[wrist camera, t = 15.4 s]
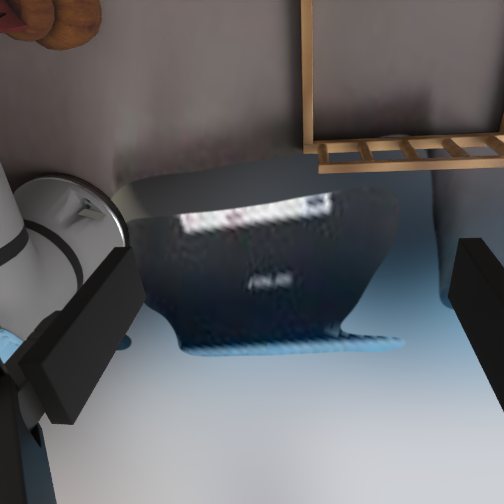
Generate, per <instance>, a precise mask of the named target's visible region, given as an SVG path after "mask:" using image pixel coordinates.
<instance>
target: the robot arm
mask: <svg viewBox="0 0 504 504" xmlns="http://www.w3.org/2000/svg"><path fill="white" fill-rule="evenodd" d="M448 298H449V300H450V302H451V304H452V307H453V309H454V311H455V313H456V315H457V317H458V319H459V321H460V323H461V325H462V327H463V329H464V331H465V333H466V335H467V337H468V339H469V341H470V344H471V345H472V348H473V350H474V352H475V354H476V356H477V358H478V360H479V362H480V364H481V366H482V368H483V370H484V372H485V374H486V376H487V378H488V380H489V383H490V385H491V387H492V389H493V391H494V393H495V395H496V397H497V399H498V401H499V403H500V405H501V407H502V409H503V411H504V267H503V266H502V265H501V263H500V262H499V261H498V259H497V258H496V257H495V255H494V254H493V253H492V251H491V250H490V249H489V248H488V246H487V245H486V244H485V242H484V241H483V240H482V238H459V241H458V246H457V252H456V257H455V262H454V267H453V273H452V278H451V283H450V288H449V294H448ZM145 299H146V295H145V291H144V288H143V285H142V281H141V278H140V275H139V271H138V268H137V264H136V261H135V258H134V254H133V251H132V247H129V233H128V229H127V226H126V223H125V221H124V218H123V217H122V215H121V213H120V211H119V210H118V208H117V207H116V206H115V204H114V203H113V202H112V201H111V200H110V199H109V198H108V197H107V196H106V195H105V194H104V193H103V192H102V191H100V190H99V189H98V188H96V187H95V186H93V185H92V184H90V183H88V182H86V181H84V180H82V179H79V178H77V177H74V176H70V175H66V174H45V175H41V176H38V177H36V178H34V179H32V180H30V181H28V182H27V183H25V184H23V185H22V186H20V187H19V188H18V189H17V190H16V191H15V192H14V194H13V193H12V191H11V188H10V186H9V183H8V181H7V178H6V175H5V173H4V170H3V167H2V165H1V162H0V504H57V503H56V499H55V493H54V488H53V483H52V477H51V472H50V467H49V462H48V458H47V452H46V447H45V442H44V437H43V432H42V428H41V426H40V425H39V423H38V421H39V420H40V418H41V417H42V415H43V414H44V412H45V413H46V414H47V416H48V418H49V420H50V421H51V423H52V424H68V425H73V424H74V423H75V420H76V419H77V417H78V416H79V414H80V412H81V410H82V408H83V407H84V405H85V404H86V402H87V400H88V398H89V397H90V395H91V393H92V391H93V390H94V388H95V386H96V384H97V383H98V381H99V379H100V378H101V376H102V374H103V372H104V371H105V369H106V367H107V365H108V364H109V362H110V360H111V358H112V357H113V355H114V353H115V351H116V350H117V348H118V346H119V345H120V343H121V341H122V339H123V338H124V336H125V334H126V332H127V330H128V329H129V327H130V325H131V324H132V322H133V320H134V318H135V317H136V315H137V313H138V312H139V310H140V308H141V306H142V304H143V303H144V301H145Z"/></svg>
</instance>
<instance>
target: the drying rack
mask: <svg viewBox="0 0 504 504" xmlns="http://www.w3.org/2000/svg"><path fill="white" fill-rule="evenodd" d="M301 48H302V103H303V153H304V154H311V153H318V167H319V169H318V170H319V171H318V172H319V173H345V172H375V171H405V170H434V169H463V168H492V167H504V113H503V117H502V121H501V126H500V130H499V132H491V133H470V134H449V135H428V136H406V137H385V138H364V139H343V140H322V141H313V35H312V0H301ZM476 146H489V147H490V148H491V149H493V150H494V151H495V152H496V153H498V154H499V156H473V157H470V156H469V155H468V154H467V153H466V152H465V151H464V150H463V149H462V148H461V147H476ZM429 148H444V149H445V150H446V151H447V152H448V153H449V154H450V155H451V156H452V157H447V158H421V157H420V156H419V155H418V153H417V152H416V151H415V149H429ZM379 150H380V151H381V150H402V152H403V153H404V155H405V157H406V158H407V159H396V160H374V159H373V156H372V154H371V151H379ZM357 151H359V153H360V156H361V159H362V161H345V162H329V156H328V153H333V152H357Z"/></svg>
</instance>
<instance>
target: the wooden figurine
mask: <svg viewBox="0 0 504 504" xmlns="http://www.w3.org/2000/svg"><path fill="white" fill-rule="evenodd" d="M101 20H102V18H101V6H100V2H99V0H0V33H5V34H7V35H8V36H10V37H12V38H14V39H17V40H22V41H36V42H38V43H39V44H40V45H42V46H44V47H45V48H47V49H53V50H60V51H61V50H67V49H70V48H74V47H77V46H81V45H83V44H85V43H87V42H88V41H89V40H90V39H92V38H93V37H94V36H95V35H96V34H97V33H98V30H99V27H100V24H101Z"/></svg>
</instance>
